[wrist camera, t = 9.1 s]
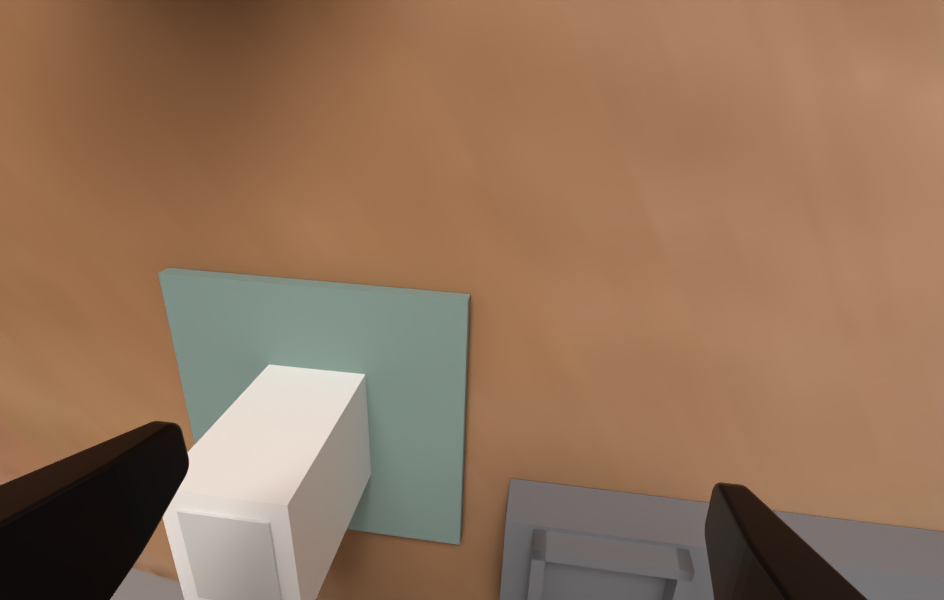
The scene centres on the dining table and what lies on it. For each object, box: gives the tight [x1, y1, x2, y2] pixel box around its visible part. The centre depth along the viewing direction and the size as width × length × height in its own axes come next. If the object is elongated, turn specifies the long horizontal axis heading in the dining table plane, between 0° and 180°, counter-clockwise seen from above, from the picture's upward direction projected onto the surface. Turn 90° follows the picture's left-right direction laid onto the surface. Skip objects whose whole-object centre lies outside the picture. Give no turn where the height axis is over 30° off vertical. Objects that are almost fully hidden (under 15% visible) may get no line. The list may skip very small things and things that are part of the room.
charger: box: [163, 365, 371, 600], centre depth 20 cm, size 4×5×7 cm
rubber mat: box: [158, 268, 470, 545], centre depth 23 cm, size 12×12×1 cm
